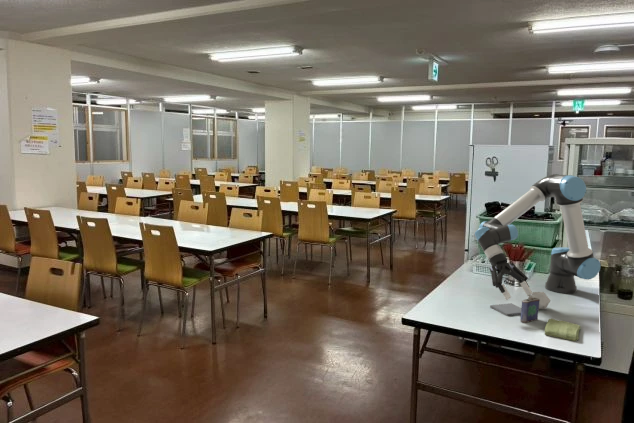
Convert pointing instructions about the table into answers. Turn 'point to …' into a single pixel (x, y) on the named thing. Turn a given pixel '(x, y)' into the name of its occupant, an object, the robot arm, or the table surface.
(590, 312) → the table surface
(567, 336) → the washcloth
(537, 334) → the table surface
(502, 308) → the mat
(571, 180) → the robot arm
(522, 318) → the flask
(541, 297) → the die
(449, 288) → the table surface
